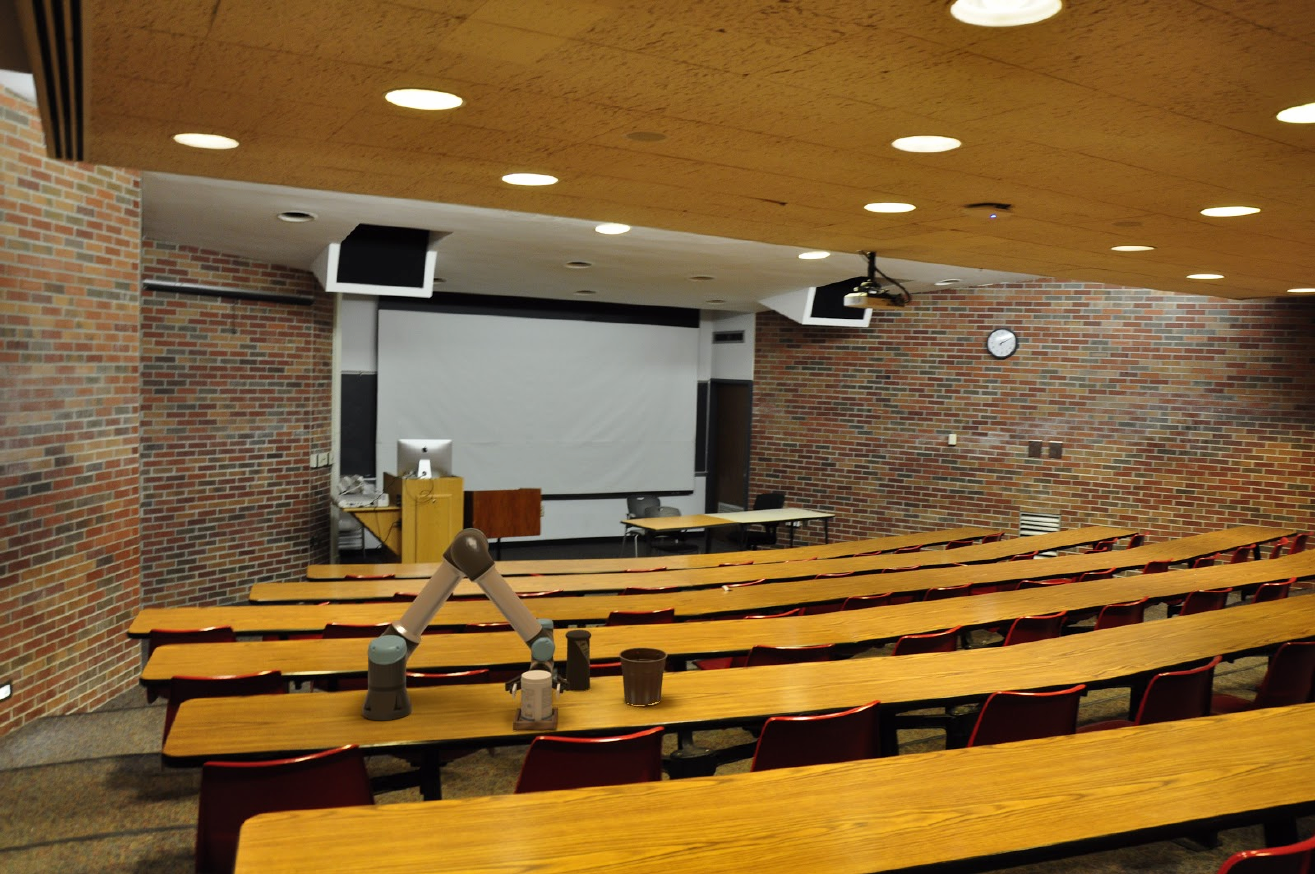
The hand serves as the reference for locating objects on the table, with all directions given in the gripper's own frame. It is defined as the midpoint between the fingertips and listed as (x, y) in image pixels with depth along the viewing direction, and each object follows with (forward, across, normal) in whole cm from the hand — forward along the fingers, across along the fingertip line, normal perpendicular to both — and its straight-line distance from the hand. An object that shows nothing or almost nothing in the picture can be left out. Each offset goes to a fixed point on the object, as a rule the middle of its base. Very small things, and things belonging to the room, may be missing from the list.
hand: (535, 694), depth 285 cm
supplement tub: (-3, 0, -10) cm, 10 cm away
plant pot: (-23, -34, -10) cm, 42 cm away
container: (-38, -12, -10) cm, 41 cm away
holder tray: (-3, 0, -10) cm, 11 cm away
